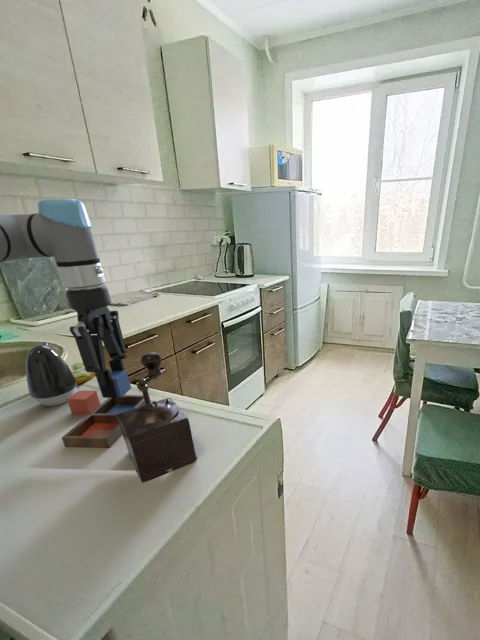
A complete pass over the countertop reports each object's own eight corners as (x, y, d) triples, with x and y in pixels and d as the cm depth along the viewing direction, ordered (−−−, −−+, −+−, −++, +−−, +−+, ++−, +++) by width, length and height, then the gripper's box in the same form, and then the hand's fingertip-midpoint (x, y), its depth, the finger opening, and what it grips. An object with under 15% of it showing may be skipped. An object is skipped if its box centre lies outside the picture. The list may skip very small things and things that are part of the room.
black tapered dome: (84, 389, 97) (67, 336, 90) (77, 406, 88) (56, 348, 81) (42, 396, 94) (21, 342, 87) (30, 414, 85) (5, 355, 78)
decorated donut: (55, 389, 98) (51, 377, 96) (60, 375, 106) (56, 364, 105) (97, 381, 101) (93, 369, 99) (98, 368, 110) (95, 357, 108)
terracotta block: (72, 416, 83) (66, 399, 81) (84, 406, 87) (78, 390, 85) (90, 416, 83) (84, 399, 81) (101, 406, 87) (96, 390, 85)
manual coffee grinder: (201, 459, 66) (185, 371, 58) (141, 484, 61) (113, 390, 53) (174, 424, 78) (158, 347, 70) (121, 442, 72) (97, 361, 64)
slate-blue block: (102, 397, 78) (96, 379, 76) (113, 388, 82) (108, 370, 80) (121, 397, 78) (116, 378, 76) (131, 388, 82) (126, 370, 80)
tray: (65, 449, 71) (61, 437, 70) (114, 405, 88) (111, 395, 86) (110, 450, 70) (106, 438, 69) (151, 405, 86) (149, 395, 85)
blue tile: (99, 420, 80) (98, 420, 80) (116, 405, 86) (115, 404, 86) (129, 421, 79) (129, 420, 79) (144, 405, 85) (143, 404, 85)
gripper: (75, 295, 62) (111, 411, 72) (126, 278, 77) (149, 375, 87) (36, 296, 63) (76, 411, 73) (94, 280, 78) (121, 375, 88)
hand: (116, 391), depth 80 cm, fingers closed on slate-blue block, 4 cm apart
